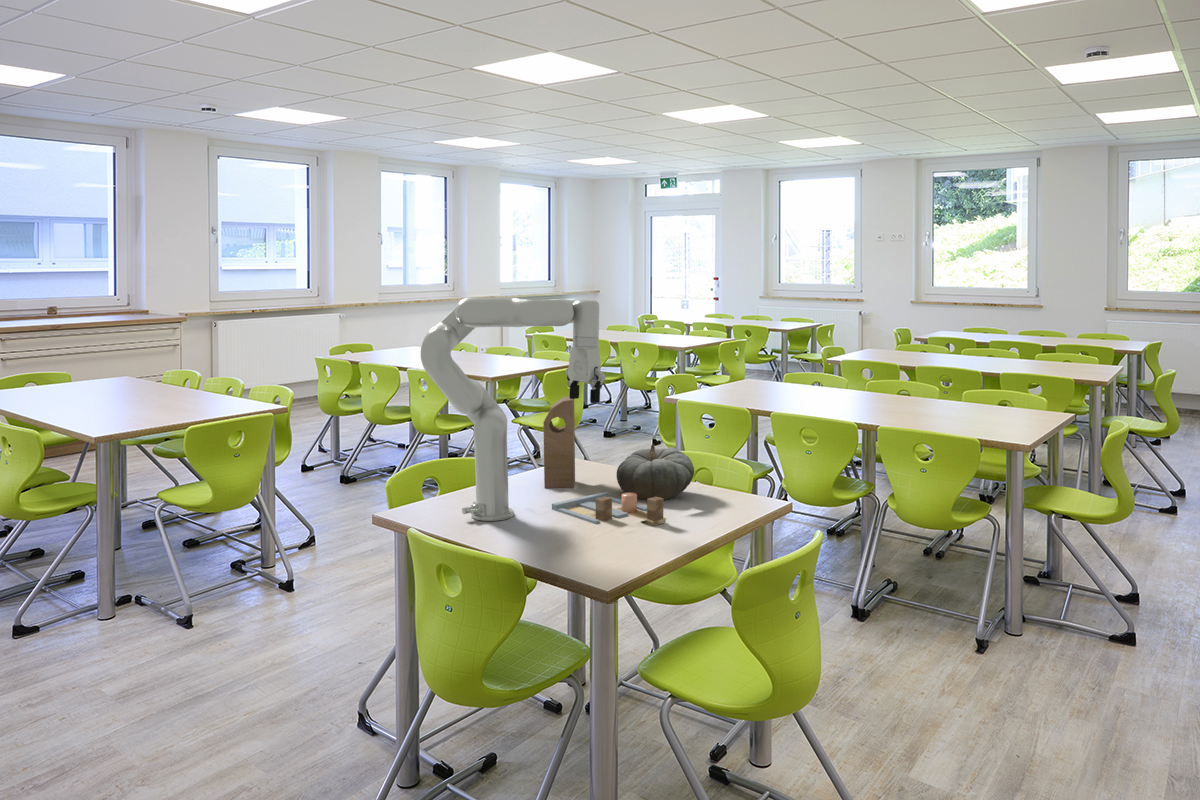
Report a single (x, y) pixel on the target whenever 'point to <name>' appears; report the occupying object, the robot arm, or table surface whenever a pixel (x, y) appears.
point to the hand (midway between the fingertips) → (584, 400)
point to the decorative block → (560, 446)
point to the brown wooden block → (603, 509)
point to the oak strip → (644, 516)
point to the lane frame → (588, 507)
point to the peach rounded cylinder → (629, 502)
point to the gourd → (655, 473)
